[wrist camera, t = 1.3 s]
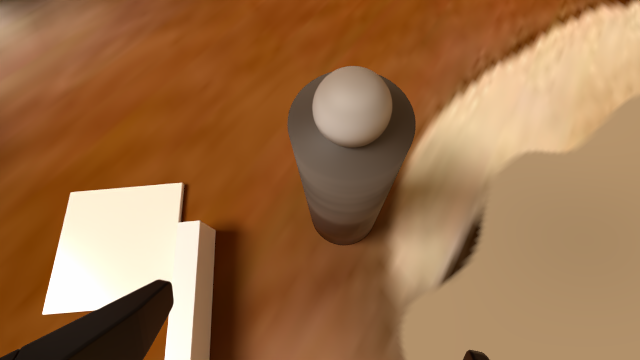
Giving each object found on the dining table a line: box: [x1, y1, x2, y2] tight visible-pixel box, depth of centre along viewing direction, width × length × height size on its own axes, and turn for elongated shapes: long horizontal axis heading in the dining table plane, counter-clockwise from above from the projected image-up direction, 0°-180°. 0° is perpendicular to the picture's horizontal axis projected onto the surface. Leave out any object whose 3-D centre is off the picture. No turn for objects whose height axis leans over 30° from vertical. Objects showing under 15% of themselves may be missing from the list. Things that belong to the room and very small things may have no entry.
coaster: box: [43, 183, 184, 314], centre depth 24 cm, size 9×9×1 cm
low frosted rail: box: [165, 221, 216, 360], centre depth 20 cm, size 15×2×3 cm, turn 4°
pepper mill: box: [288, 66, 415, 245], centre depth 17 cm, size 5×5×15 cm
